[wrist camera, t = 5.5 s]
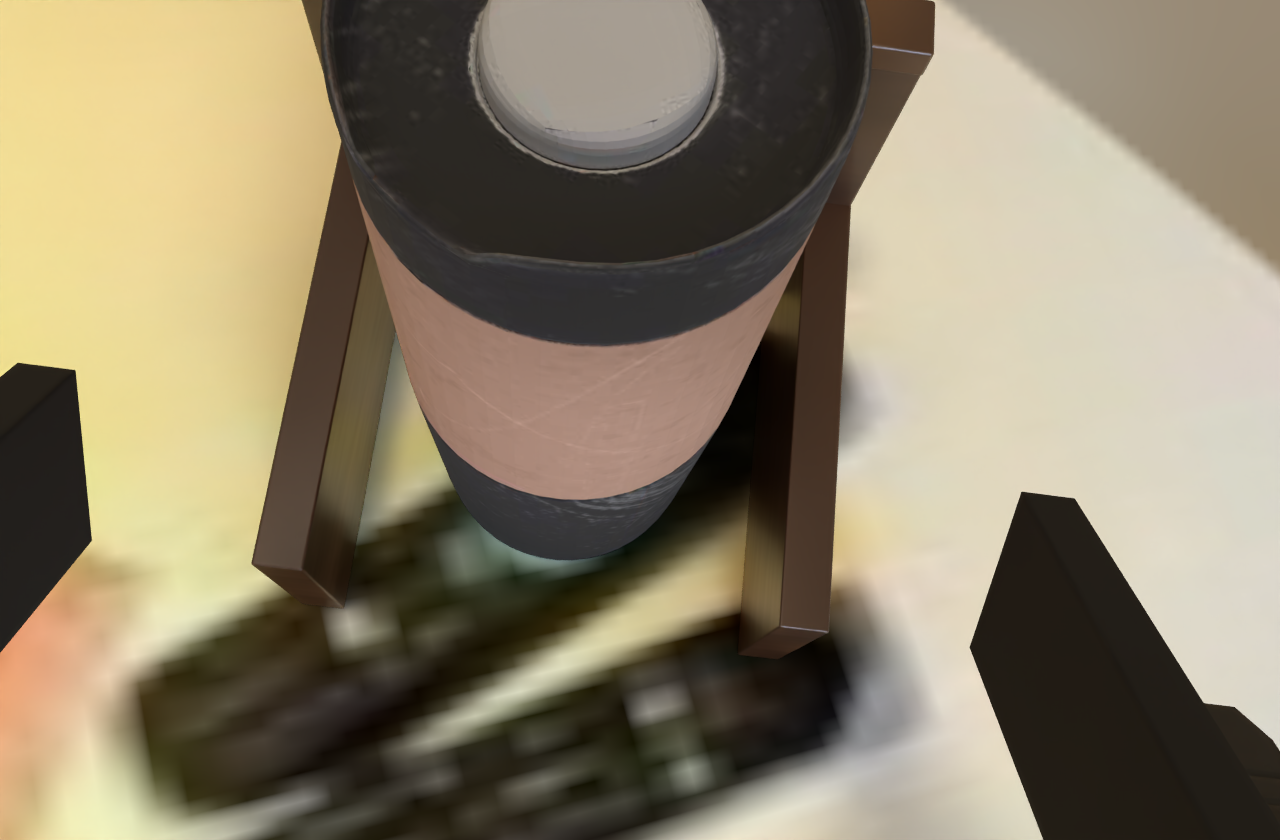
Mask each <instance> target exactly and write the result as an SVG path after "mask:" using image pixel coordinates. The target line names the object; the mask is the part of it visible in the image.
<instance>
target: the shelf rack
mask: <svg viewBox="0 0 1280 840" xmlns="http://www.w3.org/2000/svg"><path fill="white" fill-rule="evenodd" d="M302 3H303V6H304V10H305V13H306V16H307V20H308V23H309V26H310V30H311V33H312V36H313V40H314V43H315V46H316V50H317V53H318V56H319V60H320V63H321V66H322V57H321V37H320V20H321V10H322V0H302ZM866 3H867V8H868V12H869V17H870V21H871V33H872V47H873V56H872V70H871V82H870V88H869V92H868V97H867V101H866V105H865V110H864V114H863V118H862V121H861V124H860V127H859V129H858V132H857V134H856V137H855V139H854V142H853V144H852V147H851V149H850V152H849V154H848V157H847V159H846V161H845V163H844V165H843V167H842V169H841V171H840V174H839V176H838V178H837V180H836V182H835V184H834V186H833V188H832V190H831V193H830V195H829V197H828V199H827V201H826V203H825V205H824V207H823V209H822V212H821V214H820V216H819V218H818V220H817V222H816V224H815V226H814V228H813V231H812V233H811V235H810V237H809V239H808V241H807V243H806V245H805V248H804V250H803V252H802V254H801V256H800V258H799V260H798V262H797V265H796V267H795V269H794V271H793V273H792V275H791V277H790V279H789V281H788V284H787V286H786V288H785V290H784V292H783V294H782V296H781V298H780V301H779V303H778V305H777V307H776V309H775V311H774V313H773V315H772V318H771V320H770V322H769V324H768V326H767V328H766V330H765V332H764V335H763V337H762V340H761V353H760V367H759V380H758V393H757V406H756V419H755V432H754V445H753V458H752V472H751V485H750V498H749V511H748V524H747V537H746V550H745V563H744V576H743V590H742V603H741V616H740V629H739V642H738V654H739V655H745V656H754V657H763V658H771V659H779V658H781V657H783V656H785V655H787V654H788V653H790V652H792V651H794V650H796V649H798V648H800V647H802V646H804V645H805V644H807V643H809V642H811V641H813V640H815V639H817V638H819V637H820V636H822V635H824V634H826V633H828V632H829V619H830V599H831V580H832V561H833V541H834V522H835V503H836V483H837V464H838V445H839V425H840V406H841V387H842V367H843V348H844V329H845V309H846V290H847V271H848V252H849V232H850V213H851V204H852V202H853V200H854V198H855V196H856V195H857V193H858V191H859V189H860V187H861V185H862V183H863V182H864V180H865V178H866V176H867V174H868V172H869V170H870V169H871V167H872V165H873V163H874V161H875V159H876V157H877V156H878V154H879V152H880V150H881V148H882V146H883V144H884V143H885V141H886V139H887V137H888V135H889V133H890V131H891V129H892V128H893V126H894V124H895V122H896V120H897V118H898V116H899V115H900V113H901V111H902V109H903V107H904V105H905V103H906V102H907V100H908V98H909V96H910V94H911V92H912V90H913V89H914V87H915V85H916V83H917V81H918V79H919V77H920V76H921V75H922V74H923V73H924V71H925V69H926V68H927V66H928V64H929V62H930V60H931V58H932V56H933V55H934V27H935V3H934V2H933V1H928V0H866ZM322 69H323V66H322ZM323 73H324V72H323ZM395 330H396V329H395V326H394V322H393V319H392V315H391V312H390V308H389V305H388V301H387V298H386V294H385V291H384V287H383V284H382V280H381V277H380V273H379V270H378V266H377V263H376V259H375V256H374V252H373V249H372V245H371V242H370V238H369V235H368V231H367V228H366V224H365V221H364V217H363V214H362V210H361V207H360V203H359V200H358V196H357V193H356V189H355V186H354V182H353V178H352V175H351V172H350V169H349V165H348V162H347V158H346V155H345V151H344V148H343V144H342V141H341V146H340V150H339V155H338V160H337V164H336V169H335V174H334V178H333V183H332V188H331V192H330V197H329V202H328V207H327V211H326V216H325V221H324V225H323V230H322V235H321V239H320V244H319V249H318V253H317V258H316V263H315V267H314V272H313V277H312V282H311V286H310V291H309V296H308V300H307V305H306V310H305V314H304V319H303V324H302V328H301V333H300V338H299V342H298V347H297V352H296V357H295V361H294V366H293V371H292V375H291V380H290V385H289V389H288V394H287V399H286V403H285V408H284V413H283V417H282V422H281V427H280V432H279V436H278V441H277V446H276V450H275V455H274V460H273V464H272V469H271V474H270V478H269V483H268V488H267V492H266V497H265V502H264V506H263V511H262V516H261V521H260V525H259V530H258V535H257V539H256V544H255V549H254V553H253V558H252V565H253V566H254V567H256V568H257V569H258V570H260V571H261V572H262V573H264V574H265V575H266V576H267V577H269V578H270V579H271V580H273V581H274V582H275V583H276V584H278V585H279V586H280V587H282V588H283V589H284V590H285V591H287V592H288V593H289V594H291V595H292V596H293V597H294V598H296V599H297V600H298V601H300V602H301V603H302V604H307V605H316V606H325V607H333V608H344V605H345V600H346V595H347V589H348V584H349V578H350V573H351V568H352V562H353V557H354V552H355V546H356V541H357V535H358V530H359V525H360V519H361V514H362V508H363V503H364V498H365V492H366V487H367V481H368V476H369V471H370V465H371V460H372V454H373V449H374V444H375V438H376V433H377V427H378V422H379V417H380V411H381V406H382V400H383V395H384V390H385V384H386V379H387V373H388V368H389V363H390V357H391V352H392V346H393V341H394V336H395Z"/></svg>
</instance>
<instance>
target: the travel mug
mask: <svg viewBox="0 0 1280 840" xmlns="http://www.w3.org/2000/svg"><path fill="white" fill-rule="evenodd" d="M320 37H321V57H322V66H323V72H324V77H325V83H326V89H327V93H328V98H329V102H330V106H331V109H332V112H333V115H334V119H335V122H336V125H337V128H338V131H339V134H340V137H341V141H342V144H343V148H344V151H345V155H346V158H347V162H348V165H349V169H350V172H351V175H352V178H353V182H354V186H355V189H356V193H357V196H358V200H359V203H360V207H361V210H362V214H363V217H364V221H365V224H366V228H367V231H368V235H369V238H370V242H371V245H372V249H373V252H374V256H375V259H376V263H377V266H378V270H379V273H380V277H381V280H382V284H383V287H384V291H385V294H386V298H387V301H388V305H389V308H390V312H391V315H392V319H393V322H394V326H395V329H396V333H397V336H398V340H399V343H400V347H401V350H402V354H403V357H404V360H405V364H406V367H407V371H408V374H409V378H410V381H411V384H412V387H413V389H414V392H415V395H416V397H417V400H418V403H419V405H420V408H421V410H422V413H423V415H424V417H425V420H426V422H427V425H428V427H429V429H430V432H431V434H432V436H433V439H434V441H435V444H436V446H437V448H438V451H439V453H440V455H441V458H442V460H443V463H444V465H445V467H446V470H447V472H448V474H449V477H450V479H451V481H452V483H453V485H454V487H455V489H456V491H457V493H458V495H459V497H460V499H461V500H462V502H463V504H464V505H465V507H466V508H467V509H468V511H469V512H470V513H471V515H472V516H473V517H474V518H475V519H476V520H477V522H478V523H479V524H480V525H481V526H482V527H483V528H484V529H485V530H487V531H488V532H489V533H491V534H492V535H493V536H494V537H496V538H497V539H498V540H500V541H502V542H504V543H505V544H507V545H509V546H510V547H512V548H515V549H517V550H519V551H522V552H524V553H527V554H531V555H534V556H538V557H542V558H549V559H556V560H576V559H585V558H591V557H595V556H599V555H603V554H606V553H608V552H611V551H613V550H616V549H619V548H620V547H622V546H624V545H626V544H628V543H629V542H631V541H633V540H634V539H636V538H637V537H638V536H640V535H641V534H642V533H644V532H645V531H646V530H647V529H648V528H649V527H650V526H651V525H652V524H653V523H654V522H655V521H656V520H657V519H658V518H659V517H660V516H661V515H662V513H663V512H664V511H665V509H666V508H667V507H668V506H669V504H670V503H671V501H672V500H673V498H674V497H675V495H676V494H677V492H678V490H679V489H680V487H681V486H682V484H683V482H684V481H685V479H686V478H687V476H688V474H689V473H690V471H691V470H692V468H693V466H694V465H695V463H696V462H697V460H698V458H699V457H700V455H701V454H702V452H703V450H704V449H705V447H706V446H707V444H708V442H709V441H710V439H711V438H712V436H713V435H714V433H715V431H716V429H717V428H718V426H719V424H720V423H721V421H722V419H723V417H724V416H725V414H726V412H727V411H728V409H729V407H730V405H731V402H732V400H733V398H734V396H735V394H736V392H737V390H738V388H739V385H740V383H741V381H742V379H743V377H744V375H745V373H746V371H747V368H748V366H749V364H750V362H751V360H752V358H753V356H754V354H755V352H756V349H757V347H758V345H759V343H760V341H761V339H762V337H763V335H764V332H765V330H766V328H767V326H768V324H769V322H770V320H771V318H772V315H773V313H774V311H775V309H776V307H777V305H778V303H779V301H780V298H781V296H782V294H783V292H784V290H785V288H786V286H787V284H788V281H789V279H790V277H791V275H792V273H793V271H794V269H795V267H796V265H797V262H798V260H799V258H800V256H801V254H802V252H803V250H804V248H805V245H806V243H807V241H808V239H809V237H810V235H811V233H812V231H813V228H814V226H815V224H816V222H817V220H818V218H819V216H820V214H821V212H822V209H823V207H824V205H825V203H826V201H827V199H828V197H829V195H830V193H831V190H832V188H833V186H834V184H835V182H836V180H837V178H838V176H839V174H840V171H841V169H842V167H843V165H844V163H845V161H846V159H847V157H848V154H849V152H850V149H851V147H852V144H853V142H854V139H855V137H856V134H857V132H858V129H859V127H860V124H861V121H862V118H863V114H864V110H865V105H866V101H867V97H868V92H869V88H870V82H871V70H872V56H873V47H872V33H871V21H870V17H869V12H868V8H867V3H866V0H322V10H321V20H320Z"/></svg>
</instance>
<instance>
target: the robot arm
mask: <svg viewBox="0 0 1280 840" xmlns="http://www.w3.org/2000/svg"><path fill="white" fill-rule="evenodd" d="M91 541H92V537H91V527H90V517H89V506H88V496H87V486H86V475H85V465H84V454H83V444H82V434H81V423H80V413H79V402H78V392H77V382H76V371H75V370H69V369H62V368H54V367H46V366H38V365H31V364H23V363H17V364H16V365H15V366H13V367H12V368H11V369H10V370H8V371H7V372H6V373H5V374H4V375H2V376H1V377H0V652H1V651H2V650H3V649H4V648H5V646H6V645H7V644H8V643H9V641H10V640H11V639H12V638H13V637H14V635H15V634H16V633H17V632H18V630H19V629H20V628H21V627H22V625H23V624H24V623H25V622H26V621H27V619H28V618H29V617H30V616H31V614H32V613H33V612H34V611H35V610H36V608H37V607H38V606H39V605H40V603H41V602H42V601H43V600H44V599H45V597H46V596H47V595H48V594H49V592H50V591H51V590H52V589H53V588H54V586H55V585H56V584H57V583H58V581H59V580H60V579H61V578H62V577H63V575H64V574H65V573H66V572H67V570H68V569H69V568H70V567H71V565H72V564H73V563H74V562H75V561H76V559H77V558H78V557H79V556H80V554H81V553H82V552H83V551H84V550H85V548H86V547H87V546H88V545H89V543H90V542H91ZM970 649H971V652H972V655H973V657H974V660H975V663H976V665H977V668H978V670H979V673H980V676H981V678H982V681H983V683H984V686H985V689H986V691H987V694H988V696H989V699H990V702H991V704H992V707H993V710H994V712H995V715H996V717H997V720H998V723H999V725H1000V728H1001V730H1002V733H1003V736H1004V738H1005V741H1006V743H1007V746H1008V749H1009V751H1010V754H1011V757H1012V759H1013V762H1014V764H1015V767H1016V770H1017V772H1018V775H1019V777H1020V780H1021V783H1022V785H1023V788H1024V790H1025V793H1026V796H1027V798H1028V801H1029V803H1030V806H1031V809H1032V811H1033V814H1034V817H1035V819H1036V822H1037V824H1038V827H1039V830H1040V832H1041V835H1042V837H1043V840H1280V751H1279V749H1278V748H1277V746H1276V745H1275V743H1274V742H1273V740H1272V739H1271V738H1270V737H1268V736H1267V735H1266V734H1265V733H1264V732H1263V731H1262V730H1260V729H1259V728H1258V727H1257V726H1256V725H1255V724H1253V723H1252V722H1251V721H1250V720H1249V719H1248V718H1246V717H1245V716H1244V715H1243V714H1242V713H1241V712H1240V711H1238V710H1237V709H1236V708H1235V707H1230V706H1222V705H1213V704H1205V703H1203V701H1202V700H1201V698H1200V697H1199V695H1198V693H1197V692H1196V690H1195V689H1194V687H1193V686H1192V684H1191V682H1190V681H1189V679H1188V678H1187V676H1186V674H1185V673H1184V671H1183V670H1182V668H1181V667H1180V665H1179V663H1178V662H1177V660H1176V659H1175V657H1174V655H1173V654H1172V652H1171V651H1170V649H1169V647H1168V646H1167V644H1166V643H1165V641H1164V640H1163V638H1162V636H1161V635H1160V633H1159V632H1158V630H1157V628H1156V627H1155V625H1154V624H1153V622H1152V620H1151V619H1150V617H1149V616H1148V614H1147V613H1146V611H1145V609H1144V608H1143V606H1142V605H1141V603H1140V601H1139V600H1138V598H1137V597H1136V595H1135V594H1134V592H1133V590H1132V589H1131V587H1130V586H1129V584H1128V582H1127V581H1126V579H1125V578H1124V576H1123V574H1122V573H1121V571H1120V570H1119V568H1118V567H1117V565H1116V563H1115V562H1114V560H1113V559H1112V557H1111V555H1110V554H1109V552H1108V551H1107V549H1106V547H1105V546H1104V544H1103V543H1102V541H1101V540H1100V538H1099V536H1098V535H1097V533H1096V532H1095V530H1094V528H1093V527H1092V525H1091V524H1090V522H1089V521H1088V519H1087V517H1086V516H1085V514H1084V513H1083V511H1082V509H1081V508H1080V506H1079V505H1078V503H1077V501H1076V500H1075V499H1074V498H1066V497H1058V496H1051V495H1043V494H1035V493H1027V492H1021V495H1020V498H1019V501H1018V504H1017V507H1016V510H1015V513H1014V516H1013V519H1012V522H1011V525H1010V528H1009V531H1008V534H1007V537H1006V540H1005V543H1004V546H1003V549H1002V552H1001V555H1000V558H999V561H998V564H997V567H996V570H995V573H994V576H993V579H992V582H991V585H990V588H989V591H988V594H987V597H986V600H985V603H984V606H983V609H982V612H981V615H980V618H979V621H978V624H977V627H976V630H975V633H974V636H973V639H972V642H971V645H970Z"/></svg>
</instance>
